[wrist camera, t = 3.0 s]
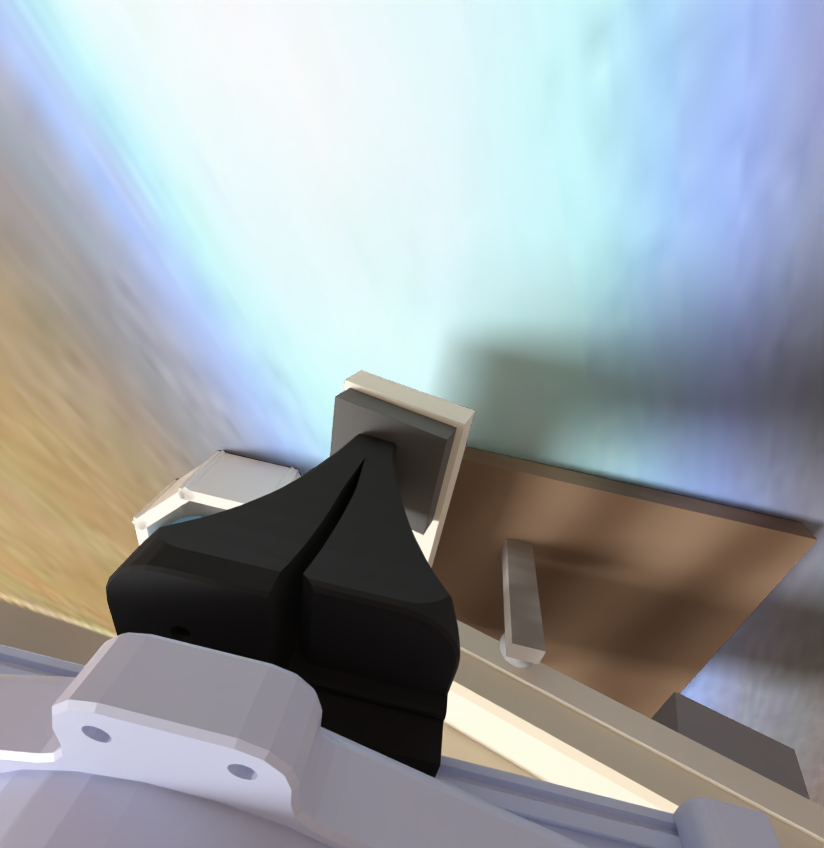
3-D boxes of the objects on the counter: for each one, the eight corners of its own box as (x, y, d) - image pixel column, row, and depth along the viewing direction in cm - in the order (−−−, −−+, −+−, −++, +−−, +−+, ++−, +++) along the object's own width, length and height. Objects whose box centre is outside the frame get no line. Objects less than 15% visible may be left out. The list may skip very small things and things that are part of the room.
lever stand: (801, 522, 18) (935, 665, 13) (645, 707, 25) (687, 846, 20) (385, 428, 19) (345, 524, 14) (353, 633, 26) (318, 747, 21)
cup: (351, 480, 21) (331, 522, 18) (336, 605, 25) (318, 652, 23) (165, 436, 21) (120, 471, 18) (184, 567, 26) (150, 610, 23)
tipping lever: (1030, 569, 11) (1225, 741, 7) (711, 812, 18) (731, 951, 15) (389, 354, 16) (322, 392, 12) (350, 613, 23) (302, 683, 20)
